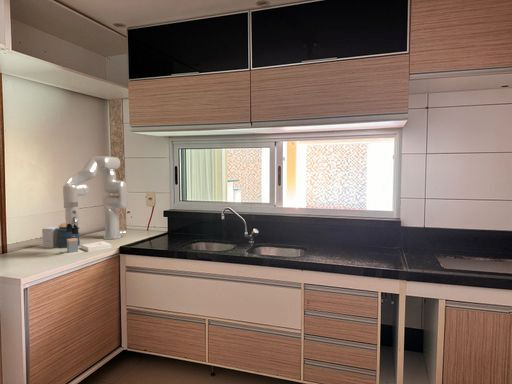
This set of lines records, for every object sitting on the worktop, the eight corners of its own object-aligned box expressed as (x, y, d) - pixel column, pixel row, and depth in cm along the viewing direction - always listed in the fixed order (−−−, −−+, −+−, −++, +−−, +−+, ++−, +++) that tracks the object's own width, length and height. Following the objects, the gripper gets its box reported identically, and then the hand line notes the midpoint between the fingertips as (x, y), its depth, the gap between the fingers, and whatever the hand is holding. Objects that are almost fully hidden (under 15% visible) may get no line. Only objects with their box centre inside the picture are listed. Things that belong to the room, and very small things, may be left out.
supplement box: (60, 245, 229) (60, 226, 229) (53, 248, 222) (52, 228, 221) (50, 245, 230) (49, 226, 229) (42, 247, 223) (41, 228, 222)
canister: (68, 249, 218) (67, 221, 217) (52, 248, 222) (51, 221, 221) (84, 245, 230) (83, 219, 229) (69, 243, 234) (68, 218, 233)
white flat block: (103, 245, 228) (103, 241, 228) (111, 248, 220) (111, 244, 220) (81, 249, 218) (81, 244, 218) (88, 252, 210) (88, 247, 210)
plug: (76, 250, 212) (75, 238, 212) (78, 251, 210) (77, 238, 209) (67, 252, 209) (66, 239, 208) (69, 253, 206) (68, 240, 206)
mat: (78, 250, 216) (78, 249, 216) (84, 252, 209) (84, 251, 209) (61, 252, 209) (61, 252, 209) (66, 255, 202) (66, 254, 202)
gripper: (82, 205, 204) (84, 234, 205) (72, 203, 216) (74, 230, 218) (68, 207, 199) (70, 236, 200) (59, 204, 211) (61, 231, 212)
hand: (72, 233), depth 209 cm, fingers open, 9 cm apart
